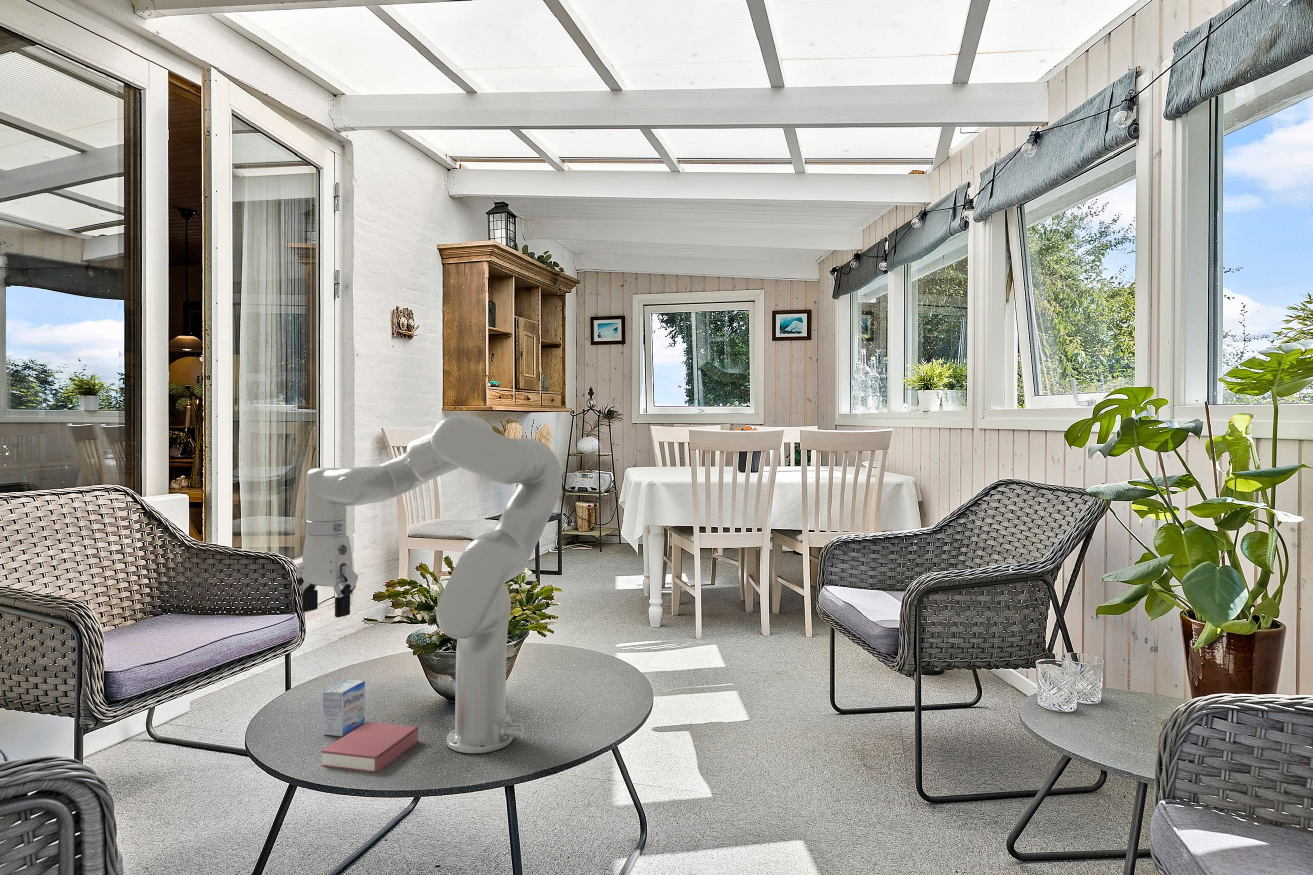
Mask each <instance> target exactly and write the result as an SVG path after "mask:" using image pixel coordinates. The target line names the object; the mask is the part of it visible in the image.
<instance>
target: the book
mask: <svg viewBox="0 0 1313 875" xmlns="http://www.w3.org/2000/svg"><path fill="white" fill-rule="evenodd" d="M418 742H419V726H412V725H402V724H401V725H400V724H392V723H382V722H373V721H365V722H364V723H363V724H361V725H359V726H358V727H356V728H355V729H353V730H352V731H350V732H349V733H347V734H346V735H344V736H343V737H340V738H339V739H337V740H336V741H334V742H332V743H331V744H330V745H328V746H327V747H324V748H323V749H321V754H322V755H321V756H322V758H321V759H322V761H321V762H322V764H321V767H325V766H327V767H326V768H333V769H341V768H343V770H350V769H351V771H358V772H359V771H360V772H366V773H367V772H368V773H373V774H374V773H375V774H376V773H378V772H379V771H381V770H383V769H384V768H385V767H386V766H387V765H389V764H391V762H393V761H394V760H395V759H397V758H398V757H400V756H401V755H402V754H403V753H404V752H406V751H407V750H408V749H410V748H412V747H413V746H414V745H416V744H417V743H418Z"/></svg>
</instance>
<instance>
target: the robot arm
mask: <svg viewBox="0 0 1313 875" xmlns="http://www.w3.org/2000/svg"><path fill="white" fill-rule="evenodd" d="M459 468H460V469H463V470H466V471H468V472H471V473H473V474H475V475H478V476H480V477H482V478H484V479H487V480H489V481H491V482H495V483H498V484H501V485H508V486H510V485H512V486H513V485H517V488H516V490H515V492H514V493H513V495H512V496H511V498H510V499H509V500H508V501H507V504H506V505H505V507H504V509H503V512H502V514H501V516H500V518H499V519H498V522H497V524H496V525H495V526H494V528H493V529H492V531H490V532H489V533H486V534H483V535H481V536H478V537H477V538H475V539H473V541H471V542H470V543H469V544H468V545H467V546H466V547H465V549H464V550H463V551H462V553H461V554H460V557H459V558H458V561H457V562H456V564H455V567H454V568H453V571H452V572H451V574H450V575H449V576H450V577H449V579H448V581H447V583H446V585H445V586H444V589H443V591H442V593H441V595H440V596H439V599H438V602H437V606H436V609H435V610H436V612H435V615H436V616H435V617H436V622H437V625H438V627H439V629H440V630H441V632H442V633H443V634H444V635H445V636H447V637H449V638H452V639H453V640H456V650H455V651H456V653H455V654H456V655H455V657H456V658H455V701H454V702H455V704H454V706H455V707H454V708H455V709H454V710H455V711H454V714H455V716H454V729H453V730H451V731H450V732H449V733H448V734H447V736H446V745H447V746H448V748H449V749H451V750H453V751H455V752H458V753H464V754H486V753H491V752H495V751H499V750H500V749H503V748H505V747H507V746H508V745H509V744H511V743H512V741H513V740H514V739H523V738H524V735H525V728H524V723H515V722H512V721H511V714H509V713H506V699H507V698H506V695H507V693H506V692H507V689H506V688H507V653H508V650H507V646H508V645H507V644H508V643H507V642H508V631H509V623H510V617H511V606H512V604H511V603H512V602H511V594H510V592H509V590H508V587H507V586H506V585H505V584H506V582H508V581H510V580H512V579H514V578H516V577H517V576H519V575H521V573H523V572H524V570H525V569H526V567H527V566H528V563H529V561H530V558H531V556H532V554H533V553H534V551H535V548H536V546H537V544H538V542H539V540H540V539H541V537H542V535H543V532H544V530H545V528H546V526H547V524H548V521H549V520H550V517H551V515H552V514H553V512H554V510H555V508H556V505H557V503H558V501H559V498H560V494H561V491H562V486H563V474H562V473H563V472H562V468H561V465H560V462H559V460H558V457H557V456H556V454H555V453H554V451H553V450H552V449H551V447H549V446H548V445H547V444H546V443H544V442H542V441H540V440H537V439H534V438H528V437H526V438H525V437H522V438H521V437H520V438H518V437H517V438H511V437H509V436H506V435H503V434H500V433H498V432H495V431H494V428H492V426H491V424H489V422H487V421H486V420H484V419H483V418H479V417H477V416H468V415H467V416H462V415H453V416H452V415H451V416H449V417H446V418H444V419H442V420H441V421H439V422H438V424H436V426H435V428H434V429H433V431H432V432H430V433H428V434H425V435H423V436H421V437H418V438H415V439H413V440H411V441H410V442H409V443H408V444H407V447H406V453H404V454H402V455H401V456H398V457H397V458H393V459H391V460H389V461H387V462H385V463H382V464H380V465H379V464H378V465H376V466H361V467H360V466H359V467H349V468H338V467H317V468H312V469H309V470H308V471H307V474H306V480H305V481H306V482H305V488H306V489H305V491H306V492H305V495H306V496H305V498H306V499H305V539H304V543H303V551H302V564H301V565H300V566H298V567H296V568H295V573H296V577H297V582H298V585H299V586H300V589H299V590H300V592H301V593H302V596H301V597H302V598H301V599H302V600H301V602H302V603H301V606H302V607H301V608H302V609H301V611H302V612H303V613H307V612H311V611H315V610H317V609H319V608H318V603H319V602H318V600H319V599H318V598H319V597H318V596H319V594H318V593H319V592H318V589H316V588H317V587H318V586H320V587H327V588H332V589H333V590H334V592H335V594H336V597H334V618H342V617H347V616H349V615H350V614H351V596H353V591H354V590H355V589H356V585H357V582H358V581H359V575H358V574H357V573H356V572H355V571H353V569H354V566H353V555H352V554H353V553H352V547H351V541H350V537H349V535H347V530H348V529H347V506H349V507H350V506H351V507H356V506H363V505H368V504H369V505H370V504H374V503H375V504H376V503H382V502H385V501H389V500H390V499H393V498H395V497H398V496H400V495H402V494H403V495H404V494H406V493H408V492H410V491H412V490H415V489H417V488H418V487H420V486H422V485H424V484H427V483H428V482H429V481H432V480H433V479H436V478H439V477H440V476H443V475H445V474H448V473H450V472H452V471H455V470H457V469H459Z"/></svg>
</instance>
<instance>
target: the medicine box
mask: <svg viewBox="0 0 1313 875" xmlns="http://www.w3.org/2000/svg"><path fill="white" fill-rule="evenodd" d="M365 723H366V681H364V680H359V679H346V680H344V681H343V682H341V683H339V684H337V685H334V686H333V687H331V688H329V689H328V690H326V691H323V692H322V735H324V736H331V735H332V737H340V738H342V736H343V737H344V736H345V734H346V735H347V734H349V733H350V732H352V731H353V730H355V729H357V728H358V727H360V726H361V725H363V724H365Z"/></svg>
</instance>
